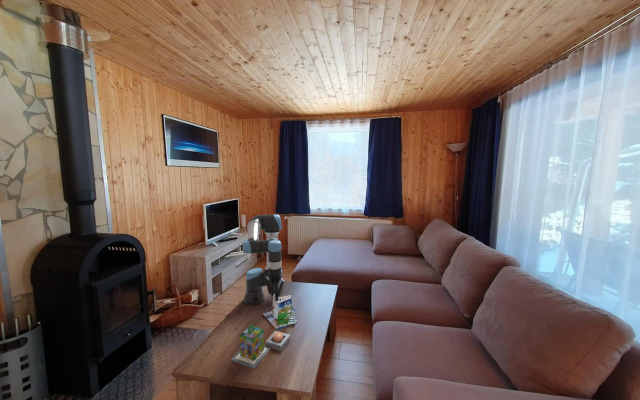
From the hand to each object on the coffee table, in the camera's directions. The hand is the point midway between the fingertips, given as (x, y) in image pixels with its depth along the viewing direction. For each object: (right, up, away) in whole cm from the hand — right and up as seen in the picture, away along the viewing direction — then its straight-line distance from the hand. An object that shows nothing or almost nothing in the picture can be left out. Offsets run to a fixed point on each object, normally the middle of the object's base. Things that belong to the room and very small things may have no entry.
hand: (275, 305), depth 143 cm
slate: (-9, -19, -16) cm, 27 cm away
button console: (+3, -18, -7) cm, 20 cm away
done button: (+3, -16, -7) cm, 18 cm away
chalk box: (-9, -18, -16) cm, 26 cm away
